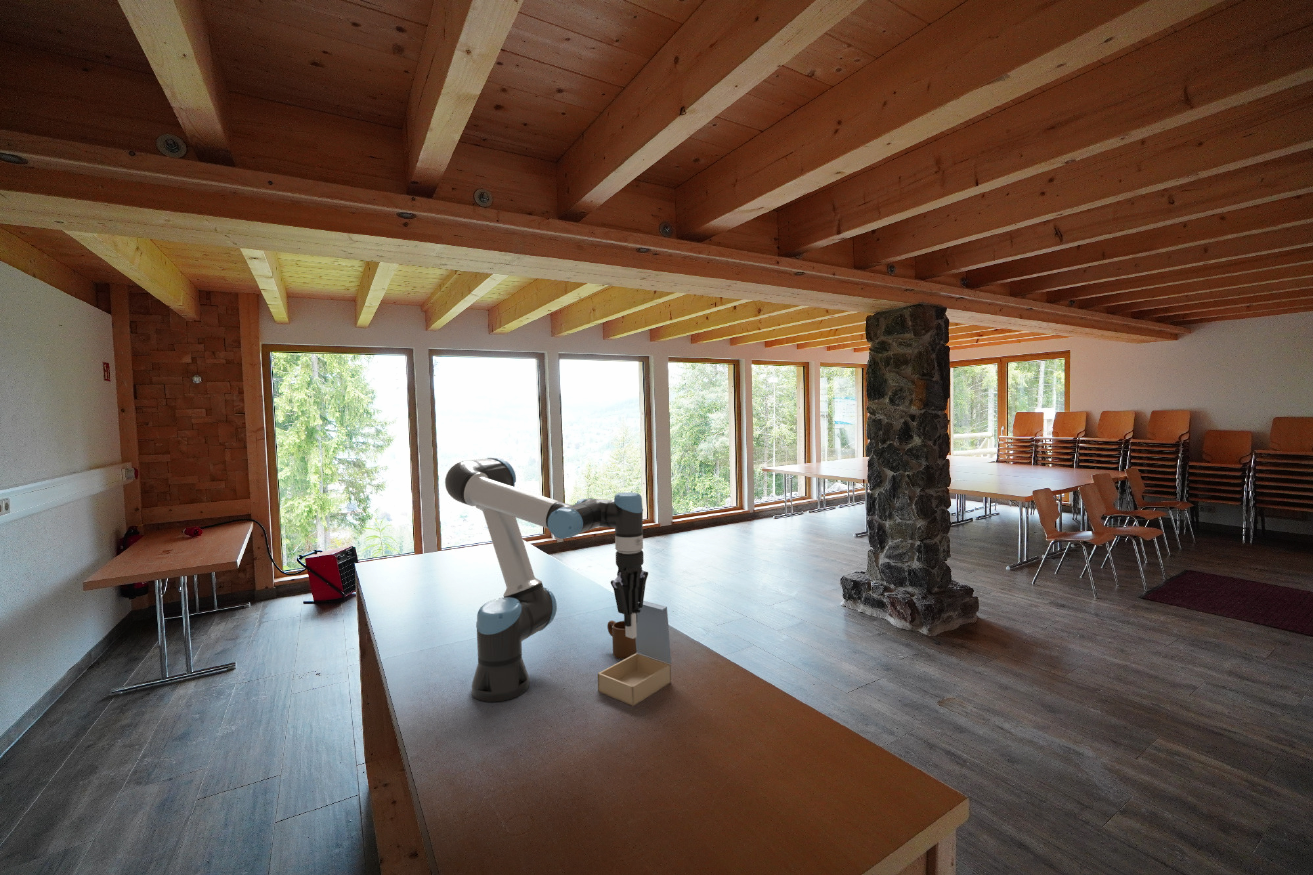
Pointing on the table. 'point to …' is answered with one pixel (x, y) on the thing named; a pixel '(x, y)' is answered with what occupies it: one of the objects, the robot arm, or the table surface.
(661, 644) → the lid
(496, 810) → the table surface
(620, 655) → the mug
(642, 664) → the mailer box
